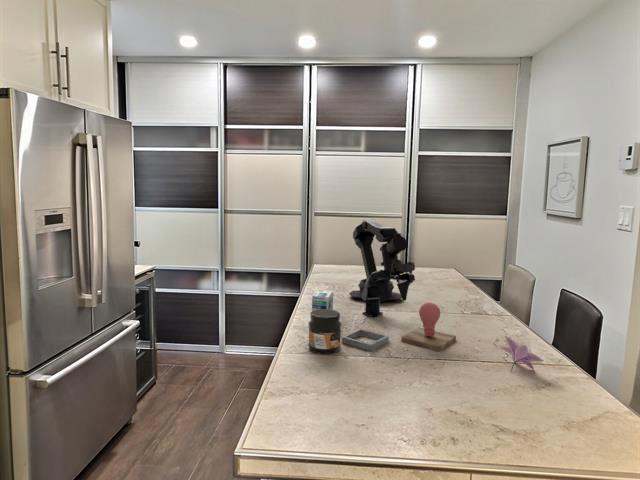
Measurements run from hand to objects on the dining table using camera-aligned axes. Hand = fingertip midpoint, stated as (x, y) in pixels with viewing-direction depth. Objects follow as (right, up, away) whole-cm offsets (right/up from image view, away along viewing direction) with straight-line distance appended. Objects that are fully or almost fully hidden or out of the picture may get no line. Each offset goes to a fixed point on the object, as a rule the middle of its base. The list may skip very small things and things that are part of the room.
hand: (396, 299), depth 162 cm
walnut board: (+10, -13, -7) cm, 18 cm away
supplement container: (-27, -14, -17) cm, 34 cm away
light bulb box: (-27, -10, +13) cm, 32 cm away
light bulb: (+10, -12, -7) cm, 17 cm away
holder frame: (-12, -13, -10) cm, 21 cm away
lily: (+31, -17, -29) cm, 46 cm away
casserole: (-2, -6, +48) cm, 48 cm away
